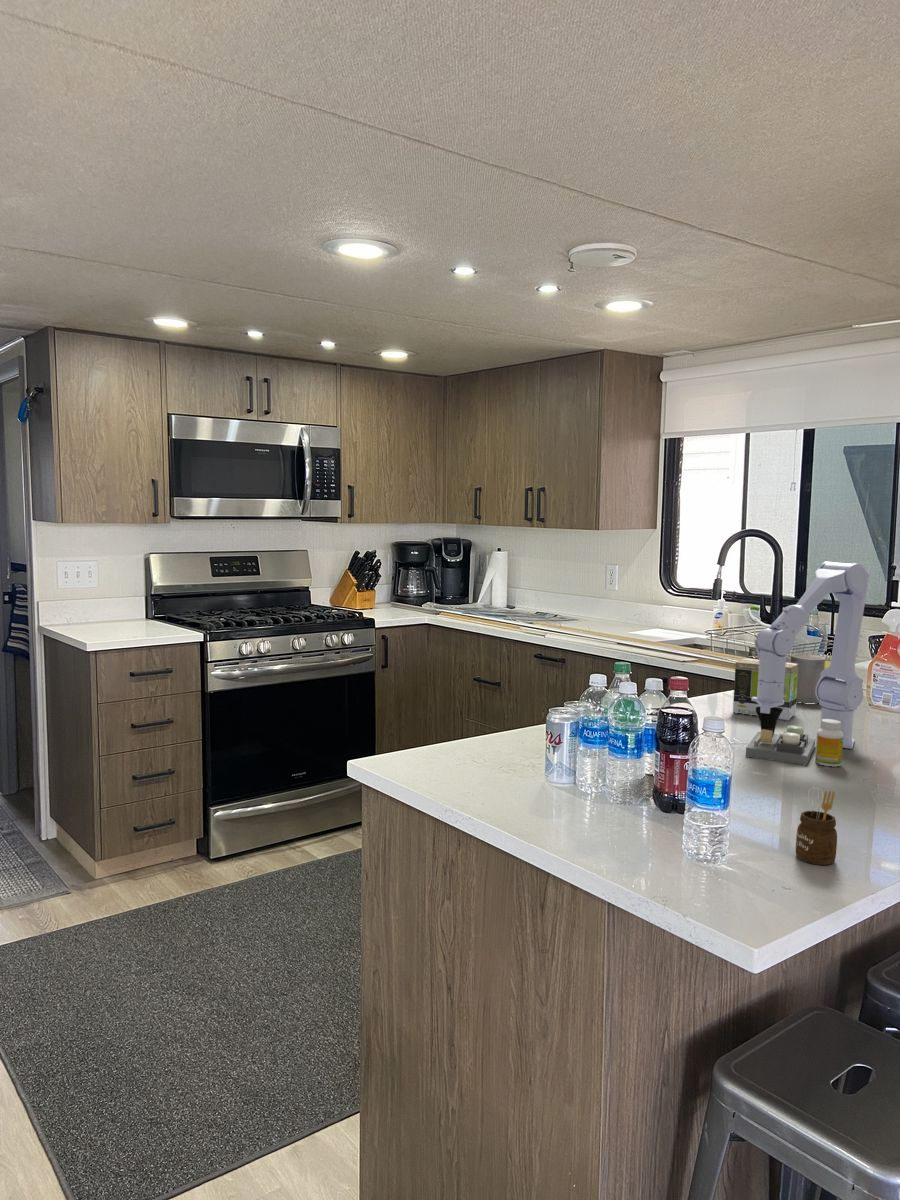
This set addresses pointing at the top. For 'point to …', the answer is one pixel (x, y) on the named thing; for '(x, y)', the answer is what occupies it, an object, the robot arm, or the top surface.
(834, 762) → the supplement bottle
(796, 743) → the white button
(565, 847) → the top surface
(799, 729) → the sage button
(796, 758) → the panel
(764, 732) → the tan wooden block
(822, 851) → the utensil holder
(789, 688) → the tea box
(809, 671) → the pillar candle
